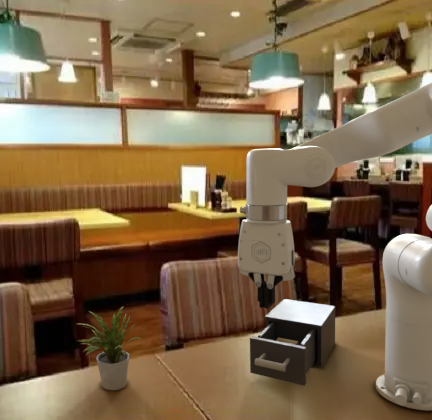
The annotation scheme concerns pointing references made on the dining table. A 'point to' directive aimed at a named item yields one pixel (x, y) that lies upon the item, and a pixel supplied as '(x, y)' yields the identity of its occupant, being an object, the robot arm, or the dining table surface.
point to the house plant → (110, 352)
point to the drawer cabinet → (308, 323)
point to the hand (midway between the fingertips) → (266, 306)
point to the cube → (287, 341)
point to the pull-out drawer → (283, 352)
